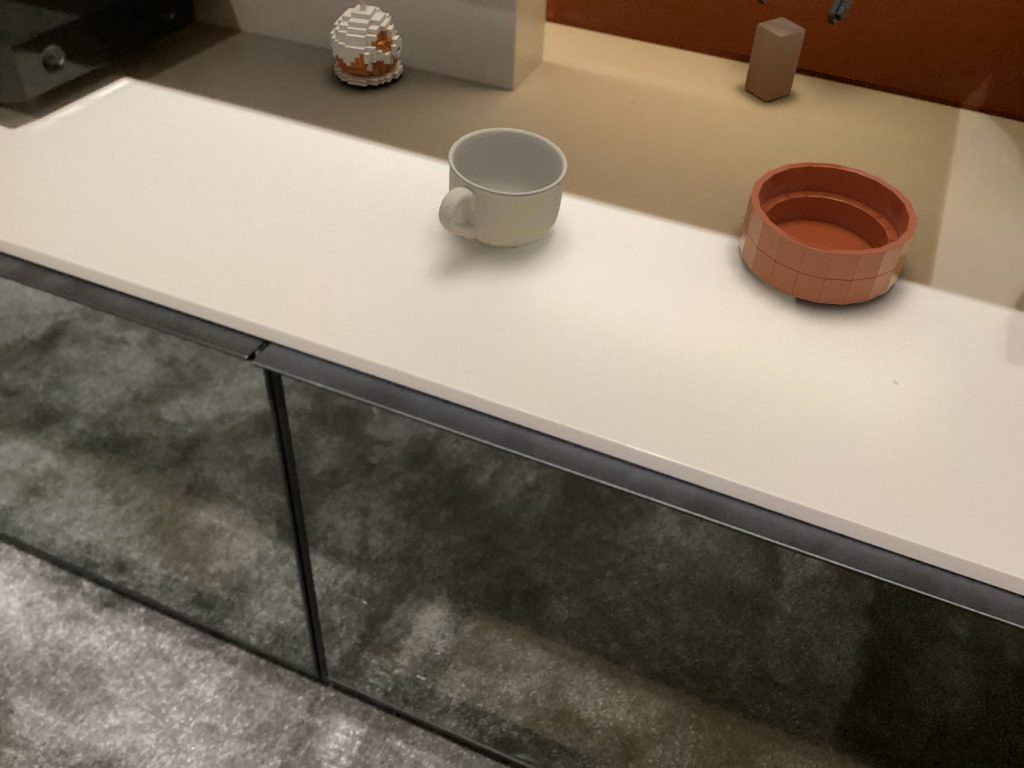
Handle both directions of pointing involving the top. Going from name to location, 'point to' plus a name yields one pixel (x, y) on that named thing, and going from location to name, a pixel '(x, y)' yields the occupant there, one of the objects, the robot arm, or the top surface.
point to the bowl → (826, 232)
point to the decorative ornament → (366, 46)
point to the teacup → (503, 187)
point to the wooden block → (774, 58)
